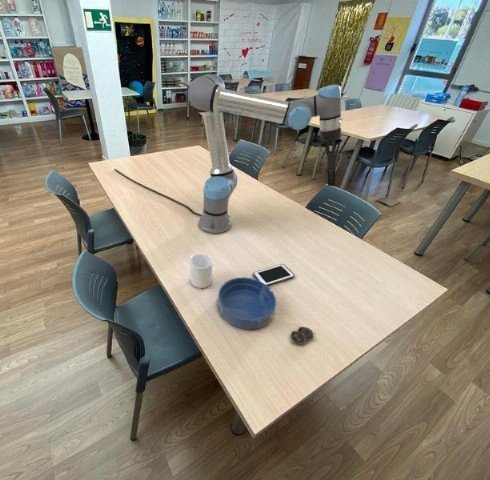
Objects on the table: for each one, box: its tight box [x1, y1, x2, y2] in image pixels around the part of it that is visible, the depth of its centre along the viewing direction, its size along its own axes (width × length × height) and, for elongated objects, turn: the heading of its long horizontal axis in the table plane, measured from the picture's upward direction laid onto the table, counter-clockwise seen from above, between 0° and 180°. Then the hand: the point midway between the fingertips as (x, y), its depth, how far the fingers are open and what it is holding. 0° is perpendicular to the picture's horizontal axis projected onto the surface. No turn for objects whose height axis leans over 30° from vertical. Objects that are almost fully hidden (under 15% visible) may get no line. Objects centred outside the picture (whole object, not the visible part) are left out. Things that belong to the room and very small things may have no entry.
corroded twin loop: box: [290, 326, 314, 345], centre depth 88 cm, size 5×8×1 cm, turn 118°
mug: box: [188, 253, 214, 289], centre depth 107 cm, size 12×8×10 cm
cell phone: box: [252, 263, 295, 287], centre depth 110 cm, size 8×15×1 cm, turn 112°
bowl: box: [217, 276, 277, 330], centre depth 97 cm, size 19×19×5 cm
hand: (331, 179), depth 122 cm, fingers open, 13 cm apart
